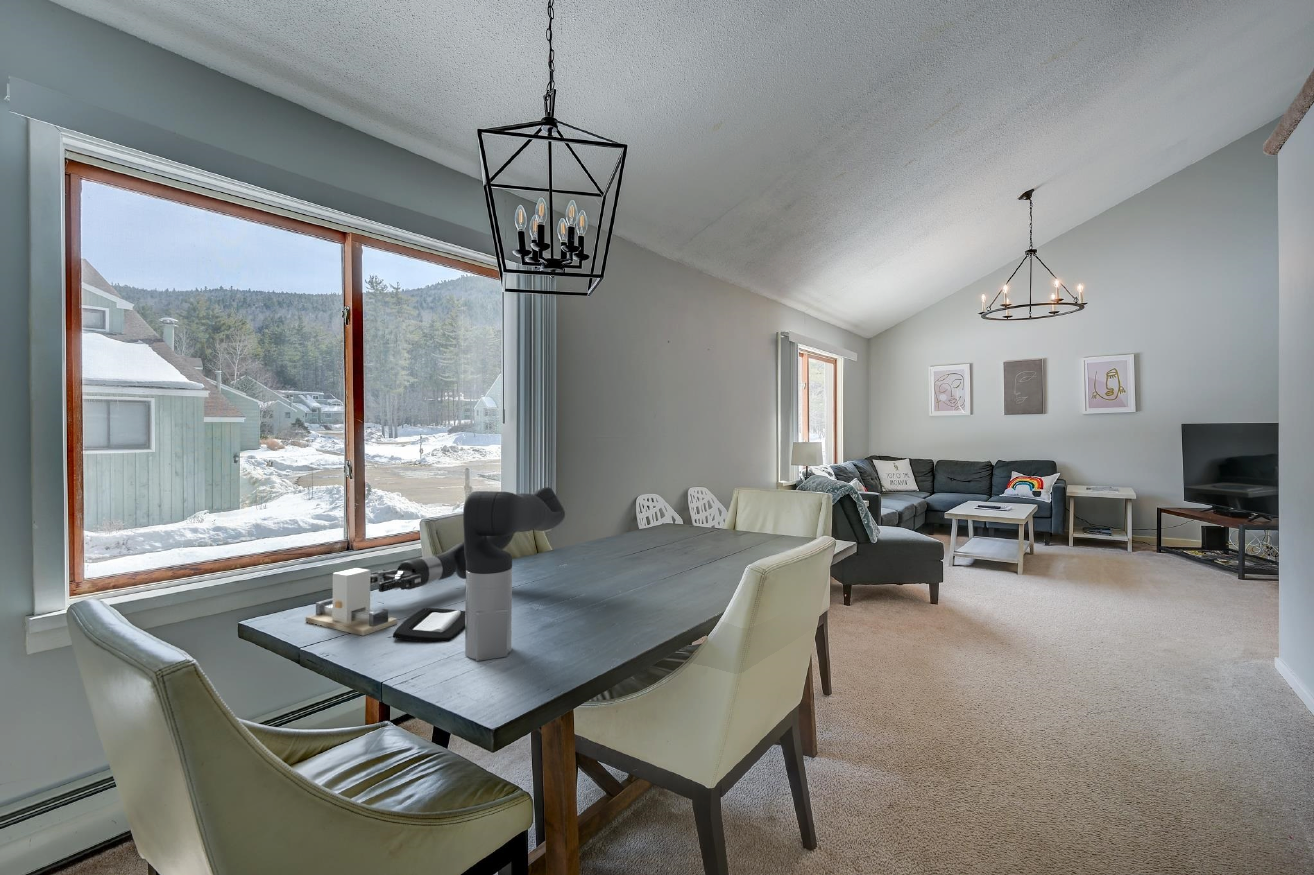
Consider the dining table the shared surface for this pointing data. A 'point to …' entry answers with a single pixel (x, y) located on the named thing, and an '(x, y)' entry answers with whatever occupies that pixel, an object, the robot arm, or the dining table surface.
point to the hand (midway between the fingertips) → (367, 585)
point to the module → (350, 593)
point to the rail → (355, 613)
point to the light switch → (432, 625)
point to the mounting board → (348, 624)
